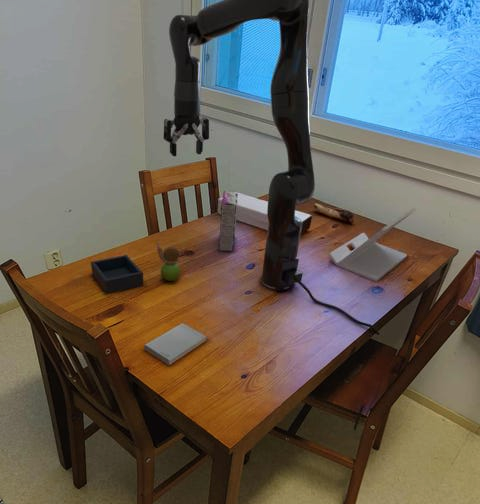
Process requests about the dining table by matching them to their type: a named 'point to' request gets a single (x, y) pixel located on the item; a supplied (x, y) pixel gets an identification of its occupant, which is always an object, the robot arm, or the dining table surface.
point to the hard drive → (175, 343)
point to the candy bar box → (228, 221)
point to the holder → (117, 274)
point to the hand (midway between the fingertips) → (186, 154)
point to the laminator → (259, 212)
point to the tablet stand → (369, 254)
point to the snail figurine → (169, 262)
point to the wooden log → (336, 213)
